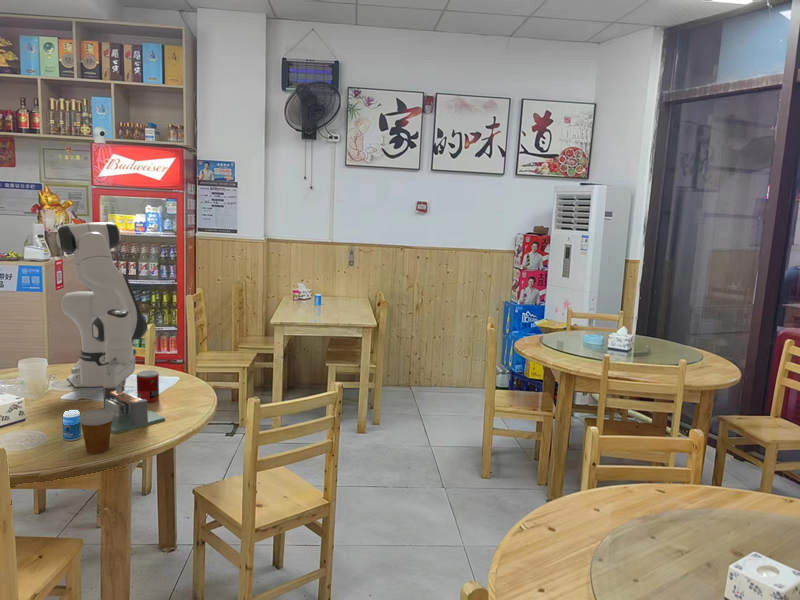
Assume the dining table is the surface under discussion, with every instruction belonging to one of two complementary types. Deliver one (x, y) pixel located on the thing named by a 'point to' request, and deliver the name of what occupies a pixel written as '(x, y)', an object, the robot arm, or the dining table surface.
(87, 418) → the disposable coffee cup
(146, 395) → the canned food
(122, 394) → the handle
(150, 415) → the board
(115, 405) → the heatsink
